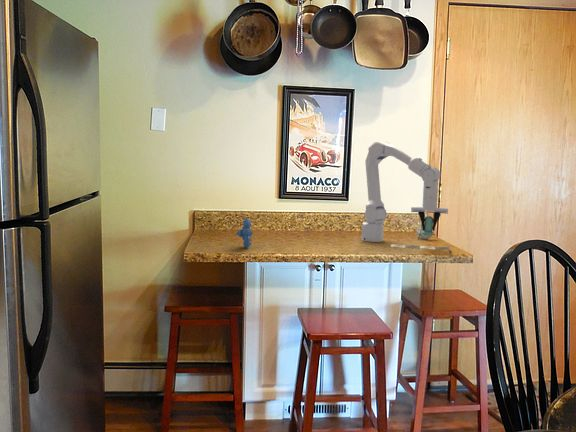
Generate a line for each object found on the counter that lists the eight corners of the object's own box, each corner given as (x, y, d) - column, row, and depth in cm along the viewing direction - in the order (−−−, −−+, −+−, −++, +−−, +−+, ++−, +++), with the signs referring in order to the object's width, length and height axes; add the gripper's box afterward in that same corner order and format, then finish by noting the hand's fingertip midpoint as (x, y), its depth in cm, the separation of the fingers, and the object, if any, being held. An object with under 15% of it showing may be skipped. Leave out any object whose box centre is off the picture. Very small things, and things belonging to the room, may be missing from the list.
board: (390, 250, 218) (390, 247, 218) (390, 245, 228) (390, 243, 228) (451, 253, 214) (451, 250, 214) (448, 248, 224) (448, 246, 224)
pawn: (422, 234, 218) (423, 216, 217) (421, 232, 222) (423, 214, 221) (434, 235, 217) (435, 217, 216) (433, 233, 221) (434, 215, 220)
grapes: (236, 244, 224) (236, 216, 223) (252, 244, 225) (252, 216, 223) (236, 250, 213) (236, 220, 211) (253, 250, 213) (253, 220, 212)
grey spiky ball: (423, 249, 242) (416, 233, 236) (414, 239, 249) (408, 224, 243) (440, 239, 241) (434, 223, 236) (431, 230, 249) (425, 214, 243)
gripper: (412, 197, 215) (410, 230, 217) (449, 199, 212) (447, 232, 214) (411, 196, 222) (410, 228, 224) (447, 197, 219) (445, 229, 221)
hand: (428, 230), depth 219 cm, fingers closed on pawn, 3 cm apart
